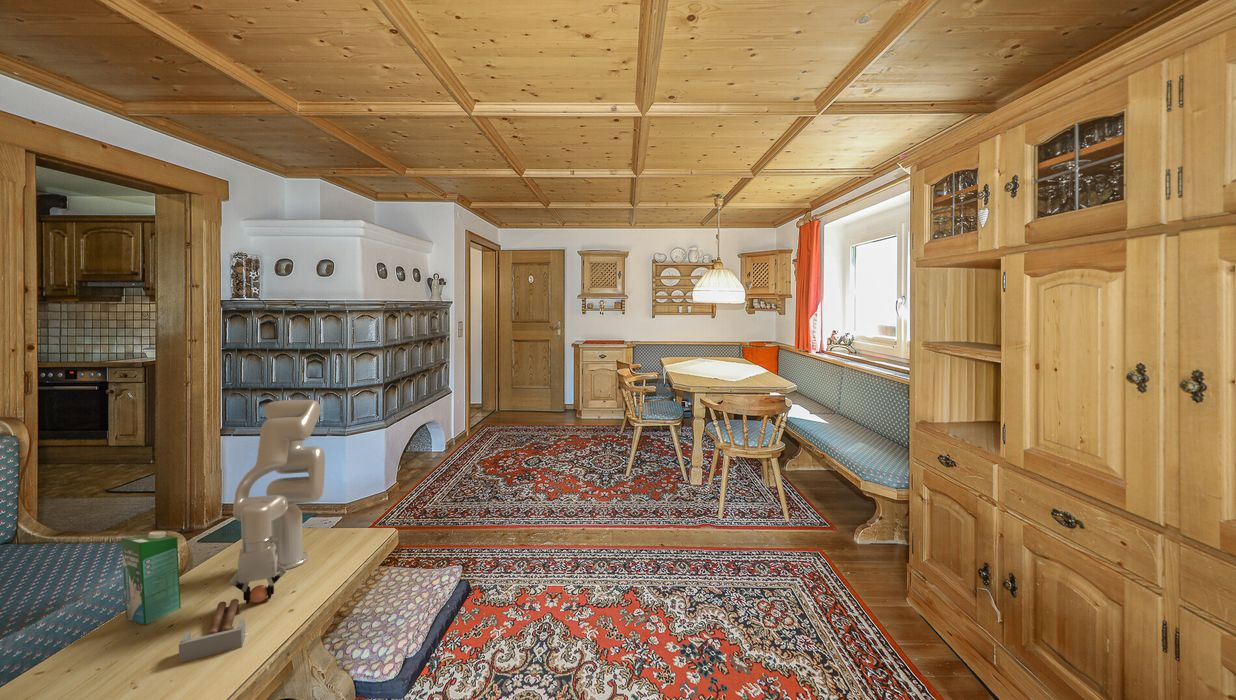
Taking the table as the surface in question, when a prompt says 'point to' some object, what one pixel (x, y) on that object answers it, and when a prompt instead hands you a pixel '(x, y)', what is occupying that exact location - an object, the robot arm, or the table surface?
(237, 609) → the brown piece
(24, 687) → the table surface
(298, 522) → the robot arm
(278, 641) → the table surface
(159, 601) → the milk carton
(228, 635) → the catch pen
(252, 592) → the ball
